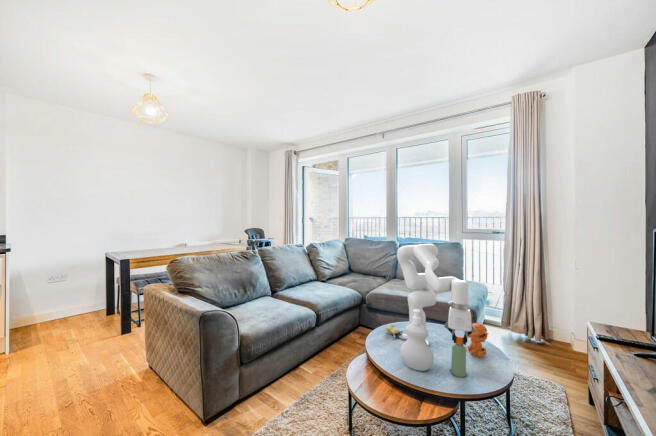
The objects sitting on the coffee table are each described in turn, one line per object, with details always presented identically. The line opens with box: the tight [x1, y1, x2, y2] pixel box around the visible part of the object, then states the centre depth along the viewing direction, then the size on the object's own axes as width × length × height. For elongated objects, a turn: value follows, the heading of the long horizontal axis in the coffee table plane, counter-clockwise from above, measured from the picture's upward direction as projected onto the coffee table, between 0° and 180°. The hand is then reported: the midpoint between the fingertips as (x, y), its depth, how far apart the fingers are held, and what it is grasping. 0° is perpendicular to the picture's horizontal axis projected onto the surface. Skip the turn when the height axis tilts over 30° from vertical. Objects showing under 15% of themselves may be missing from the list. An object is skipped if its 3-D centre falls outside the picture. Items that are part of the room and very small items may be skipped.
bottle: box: [450, 342, 468, 378], centre depth 132 cm, size 6×6×18 cm
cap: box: [455, 333, 465, 346], centre depth 132 cm, size 4×4×4 cm
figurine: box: [384, 324, 407, 341], centre depth 173 cm, size 10×6×15 cm
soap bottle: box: [399, 309, 435, 372], centre depth 138 cm, size 17×12×29 cm
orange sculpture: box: [466, 321, 489, 358], centre depth 150 cm, size 11×11×18 cm
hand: (459, 342), depth 132 cm, fingers closed on cap, 4 cm apart
